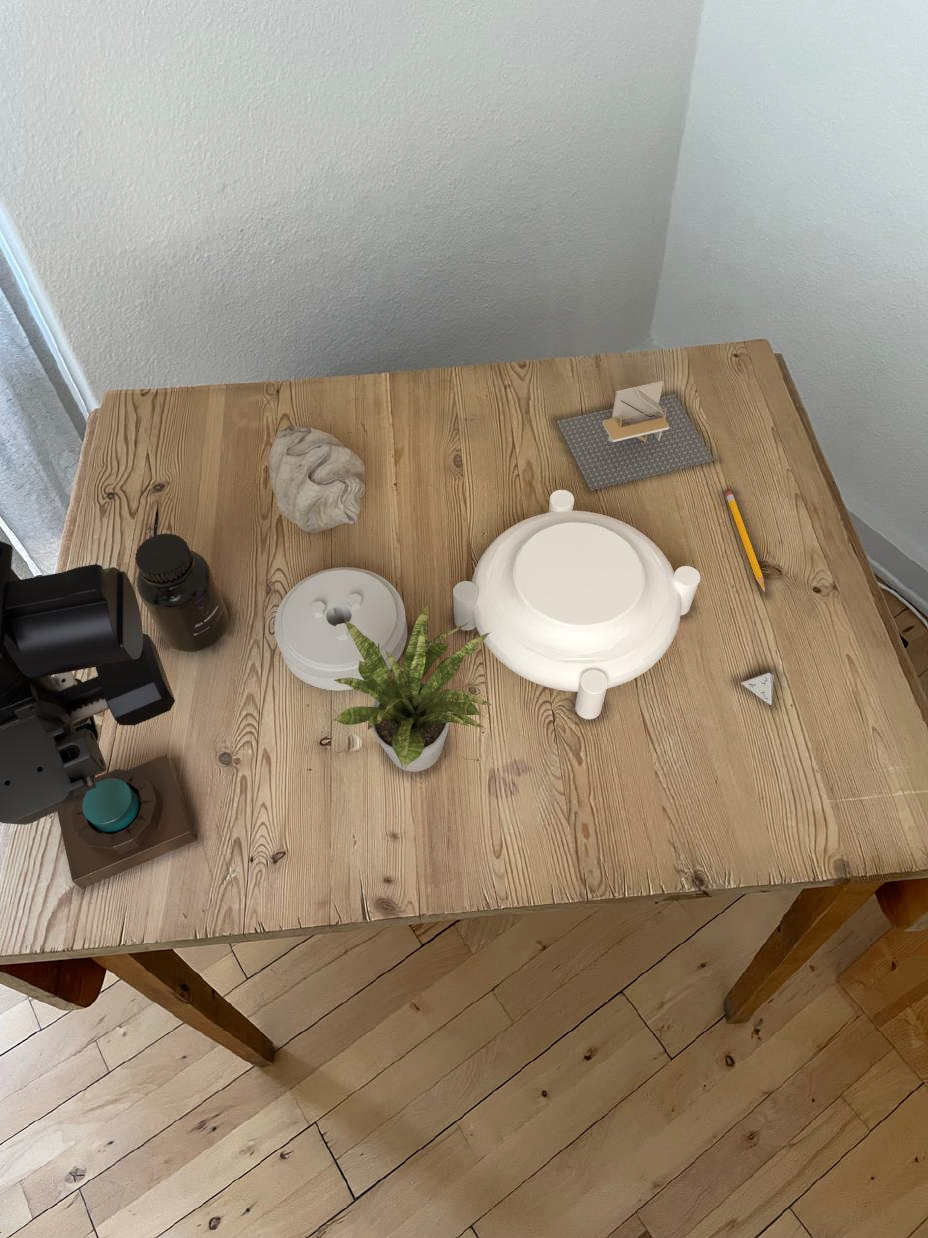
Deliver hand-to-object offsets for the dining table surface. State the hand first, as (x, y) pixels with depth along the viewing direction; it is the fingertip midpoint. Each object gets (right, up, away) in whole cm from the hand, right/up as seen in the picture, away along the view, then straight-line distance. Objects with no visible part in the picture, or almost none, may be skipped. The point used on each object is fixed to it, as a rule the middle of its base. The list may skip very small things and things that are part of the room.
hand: (77, 768), depth 67 cm
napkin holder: (+50, +32, +34) cm, 68 cm away
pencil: (+60, +20, +26) cm, 68 cm away
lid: (+18, +9, +20) cm, 29 cm away
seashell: (+14, +24, +30) cm, 40 cm away
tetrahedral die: (+58, +5, +17) cm, 60 cm away
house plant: (+26, -1, +13) cm, 29 cm away
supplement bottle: (+3, +11, +21) cm, 24 cm away
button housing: (0, -7, +10) cm, 12 cm away
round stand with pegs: (+41, +12, +21) cm, 48 cm away
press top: (0, -5, +7) cm, 8 cm away
